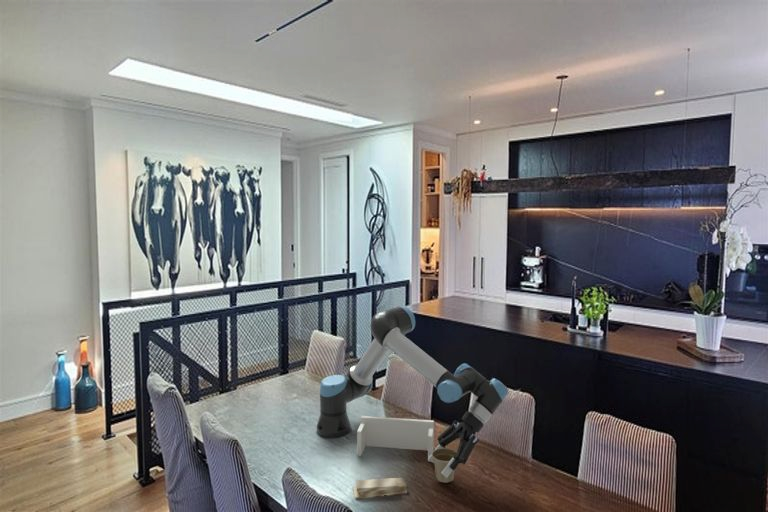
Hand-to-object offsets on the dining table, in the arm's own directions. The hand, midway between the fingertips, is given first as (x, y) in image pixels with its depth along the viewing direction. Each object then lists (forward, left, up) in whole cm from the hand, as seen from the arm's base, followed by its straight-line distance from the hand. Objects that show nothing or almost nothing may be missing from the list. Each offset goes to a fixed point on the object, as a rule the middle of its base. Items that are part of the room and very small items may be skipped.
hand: (437, 467), depth 158 cm
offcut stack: (-19, -7, -6) cm, 22 cm away
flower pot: (+3, +2, -5) cm, 6 cm away
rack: (-17, +19, -6) cm, 27 cm away
